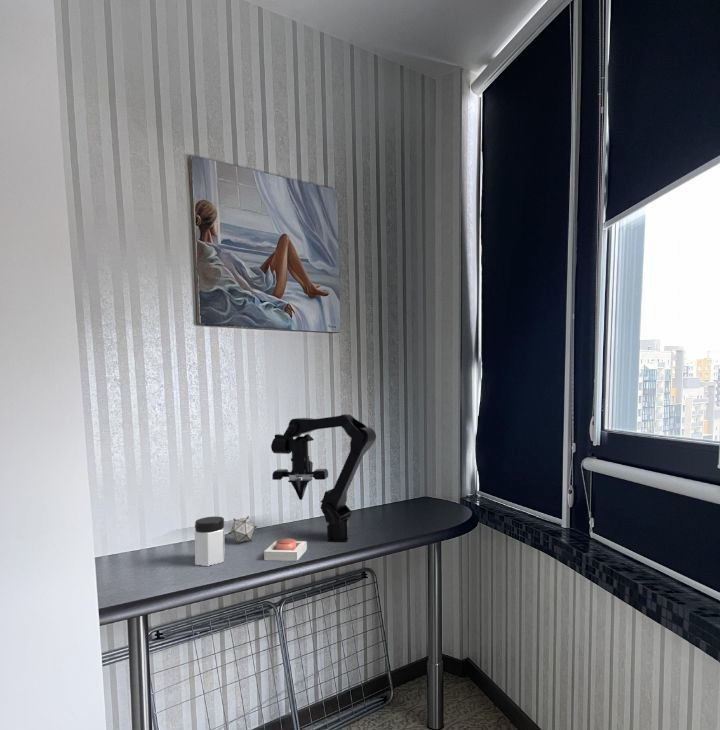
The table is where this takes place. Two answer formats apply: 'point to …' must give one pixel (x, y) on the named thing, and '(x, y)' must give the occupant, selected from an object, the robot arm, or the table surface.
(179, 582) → the table surface
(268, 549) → the base
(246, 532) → the grey icosahedron ornament
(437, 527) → the table surface
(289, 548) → the popper button
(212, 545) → the jar
